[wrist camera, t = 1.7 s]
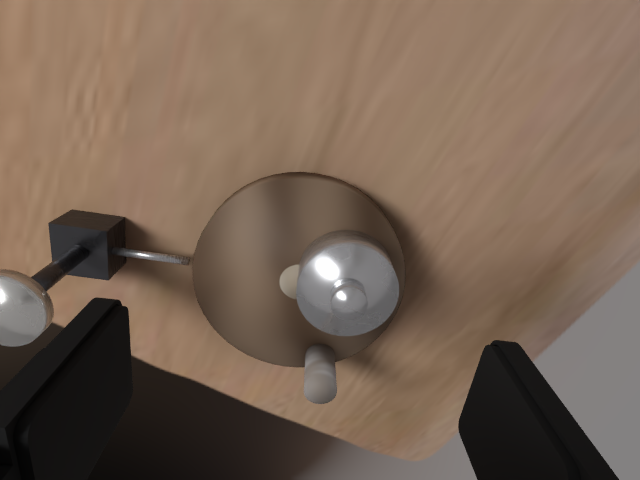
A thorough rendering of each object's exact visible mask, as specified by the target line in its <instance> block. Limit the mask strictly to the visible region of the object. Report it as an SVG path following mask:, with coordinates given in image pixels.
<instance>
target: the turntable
mask: <svg viewBox="0 0 640 480" xmlns="http://www.w3.org/2000/svg"><path fill="white" fill-rule="evenodd" d="M337 230H356V231H360V232H363V233H366V234H368V235H370V236H372V237H373V238H375V239H376V240H377V241H378V242H380V243H381V244H382V246H383V247H384V248H385V250H386V251H387V253H388V255H389V258H390V260H391V263H392V265H393V268H394V271H395V273H396V276H397V279H398V283H399V297H398V301H397V304H396V307H395V309H394V311H393V312H392V314H391V315H390V316H389V318H388V319H387V320H386V321H385V322H384V323H382V324H381V325H380V326H378V327H377V328H375V329H373V330H371V331H369V332H367V333H364V334H360V335H355V336H337V335H332V334H329V333H326V332H323V331H321V330H319V329H318V328H316V327H314V326H313V325H312V324H311V323H310V322H309V321H308V320H307V319H306V318H305V317H304V315H303V314H302V312H301V310H300V308H299V306H298V303H297V298H296V289H297V277H298V267H299V262H300V259H301V257H302V255H303V253H304V251H305V250H306V248H307V247H308V246H309V245H310V244H311V243H312V242H313V241H314V240H316V239H317V238H319V237H320V236H322V235H324V234H326V233H329V232H332V231H337ZM405 275H406V272H405V261H404V257H403V253H402V248H401V246H400V244H399V241H398V239H397V236H396V234H395V232H394V230H393V228H392V226H391V224H390V222H389V221H388V219H387V217H386V216H385V214H384V213H383V212H382V211H381V209H380V208H379V207H378V206H377V205H376V204H375V203H374V202H373V201H372V200H371V199H370V198H369V197H368V196H367V195H365V194H364V193H362V192H361V191H360V190H358V189H357V188H355V187H353V186H351V185H349V184H348V183H346V182H344V181H341V180H338V179H336V178H333V177H330V176H325V175H321V174H317V173H307V172H288V173H282V174H275V175H271V176H268V177H264V178H261V179H259V180H256V181H254V182H252V183H250V184H247V185H246V186H244V187H243V188H241V189H239V190H238V191H236V192H235V193H234V194H233V195H231V196H230V197H229V198H228V199H227V200H225V202H224V203H223V204H222V205H221V206H220V207H219V208H218V209H217V211H216V212H215V213H214V215H213V216H212V218H211V219H210V221H209V222H208V224H207V225H206V227H205V228H204V230H203V232H202V234H201V236H200V238H199V240H198V243H197V246H196V250H195V253H194V259H193V284H194V290H195V294H196V297H197V300H198V303H199V305H200V307H201V309H202V311H203V313H204V315H205V317H206V318H207V320H208V321H209V323H210V324H211V326H212V327H213V328H214V329H215V330H216V331H217V333H218V334H219V335H220V336H222V337H223V338H224V339H225V340H226V341H227V342H228V343H230V344H231V345H232V346H234V347H235V348H237V349H238V350H240V351H242V352H243V353H245V354H247V355H249V356H251V357H254V358H256V359H258V360H261V361H264V362H268V363H271V364H275V365H281V366H288V367H305V376H304V395H305V397H306V398H307V399H308V400H309V401H311V402H313V403H316V404H324V403H328V402H330V401H331V400H333V399H334V398H335V396H336V393H337V386H336V370H335V362H337V361H340V360H343V359H345V358H348V357H350V356H352V355H354V354H356V353H358V352H359V351H361V350H362V349H364V348H365V347H367V346H368V345H370V344H371V343H372V342H373V341H374V340H376V339H377V338H378V337H379V336H380V335H381V334H382V332H383V331H384V330H385V329H386V328H387V326H388V325H389V324H390V322H391V321H392V320H393V318H394V316H395V314H396V312H397V310H398V308H399V305H400V303H401V300H402V297H403V292H404V287H405Z"/></svg>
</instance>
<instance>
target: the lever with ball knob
mask: <svg viewBox="0 0 640 480" xmlns="http://www.w3.org/2000/svg"><path fill="white" fill-rule="evenodd" d="M49 233H50V243H51V253H52V262H51V263H50V264H49V265H47V266H46V267H44V268H43V269H42V270H40V271H39V272H38V273H36V274H35V275H34V276H32V277H29V276H27V275H25V274H22V273H20V272H17V271H13V270H6V269H0V345H3V346H22V345H25V344H28V343H30V342H32V341H33V340H35V339H36V338H37V337H38V336H39V335H40V334H41V333H42V332H43V331H44V330H45V329H46V328H47V327H48V326H49V325H50V323H51V322H52V319H53V315H54V308H53V304H52V301H51V298H50V296H49V295H48V293H47V292H46V291H47V290H48V289H50V288H51V287H52V286H53V285H55V284H56V283H57V282H58V281H59V280H61V279H62V278H63V277H64V276H65V275H72V276H80V277H87V278H95V279H102V280H109V279H110V278H111V277H112V276H113V275H114V274H115V273H116V272H117V271H118V270H119V269H120V268H121V267H122V266H123V265H124V264H125V263H126V257H132V258H140V259H147V260H154V261H161V262H168V263H176V264H183V265H189V262H190V257H183V256H176V255H168V254H161V253H154V252H147V251H140V250H133V249H126V248H125V217H120V216H113V215H106V214H99V213H92V212H85V211H78V210H70V211H69V212H67V213H65V214H63V215H62V216H60V217H58V218H56V219H55V220H53V221H51V222H50V223H49Z"/></svg>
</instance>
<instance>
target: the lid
mask: <svg viewBox="0 0 640 480" xmlns="http://www.w3.org/2000/svg"><path fill="white" fill-rule="evenodd" d="M398 297H399V283H398V279H397V276H396V273H395V271H394V268H393V265H392V263H391V260H390V258H389V255H388V253H387V251H386V250H385V248H384V247H383V246H382V244H381V243H380V242H378V241H377V240H376V239H375V238H373V237H372V236H370V235H368V234H366V233H363V232H360V231H356V230H337V231H332V232H329V233H326V234H324V235H322V236H320V237H319V238H317V239H316V240H314V241H313V242H312V243H311V244H310V245H309V246H308V247H307V248H306V250H305V251H304V253H303V255H302V257H301V259H300V262H299V267H298V277H297V289H296V298H297V303H298V306H299V308H300V310H301V312H302V314H303V315H304V317H305V318H306V319H307V320H308V321H309V322H310V323H311V324H312V325H313V326H314V327H316V328H318V329H319V330H321V331H323V332H326V333H329V334H332V335H337V336H355V335H360V334H364V333H367V332H369V331H371V330H373V329H375V328H377V327H378V326H380V325H381V324H382V323H384V322H385V321H386V320H387V319H388V318H389V316H390V315H391V314H392V312H393V311H394V309H395V307H396V304H397V301H398Z"/></svg>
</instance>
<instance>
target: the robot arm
mask: <svg viewBox="0 0 640 480" xmlns="http://www.w3.org/2000/svg"><path fill="white" fill-rule="evenodd" d="M132 392H133V384H132V367H131V349H130V331H129V313H128V308H127V307H126V306H122V304H121V301H119V300H115V299H106V298H94V299H92V300H91V301H90V302H89V303H88V304H87V305H86V306H85V307H84V308H83V309H82V311H81V312H80V313H79V314H78V315H77V316H76V317H75V318H74V319H73V320H72V321H71V322H70V323H69V324H68V325H67V326H66V327H65V328H64V329H63V330H62V331H61V332H60V333H59V334H58V335H57V336H56V337H55V338H54V339H53V340H52V341H51V342H50V343H49V344H48V346H47V347H46V348H43V349H42V350H41V351H39V352H38V353H37V354H36V355H35V356H34V357H33V358H32V359H31V360H30V361H29V362H28V363H27V364H26V365H25V366H24V367H23V368H22V369H21V370H20V371H19V373H18V374H17V375H15V377H14V378H13V379H12V380H11V381H10V382H9V383H8V384H7V385H6V386H5V387H4V388H3V389H2V390H1V391H0V480H87V478H88V476H89V474H90V473H91V471H92V469H93V467H94V466H95V464H96V462H97V460H98V458H99V457H100V455H101V453H102V451H103V449H104V447H105V446H106V444H107V442H108V441H109V439H110V437H111V435H112V433H113V431H114V430H115V428H116V426H117V424H118V423H119V421H120V419H121V417H122V415H123V414H124V412H125V410H126V408H127V407H128V405H129V403H130V400H131V397H132ZM459 433H460V436H461V439H462V441H463V444H464V446H465V449H466V452H467V454H468V456H469V459H470V461H471V464H472V467H473V469H474V472H475V474H476V477H477V479H478V480H619V479H618V477H617V476H616V475H615V474H614V472H613V471H612V469H611V468H610V467H609V465H608V464H607V463H606V461H605V460H604V459H603V457H602V456H601V454H600V453H599V452H598V450H597V449H596V448H595V446H594V445H593V444H592V442H591V441H590V440H589V438H588V437H587V436H586V435H585V433H584V431H583V430H582V429H581V427H580V426H579V425H578V423H577V422H576V421H575V419H574V418H573V417H572V415H571V414H570V412H569V411H568V410H567V408H566V407H565V406H564V404H563V403H562V402H561V400H560V399H559V398H558V396H557V395H556V394H555V392H554V391H553V389H552V388H551V387H550V385H549V384H548V383H547V381H546V380H545V379H544V377H543V376H542V375H541V373H540V372H539V371H538V369H537V368H536V366H535V365H534V364H533V362H532V361H531V360H530V358H529V357H528V355H527V354H526V353H525V351H524V350H523V349H522V347H521V346H520V345H519V344H518V343H516V342H508V341H499V340H495V341H493V342H492V343H491V345H486V346H485V348H484V350H483V353H482V356H481V358H480V361H479V364H478V367H477V370H476V373H475V376H474V378H473V381H472V384H471V387H470V390H469V393H468V396H467V398H466V401H465V404H464V407H463V410H462V413H461V416H460V419H459Z"/></svg>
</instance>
